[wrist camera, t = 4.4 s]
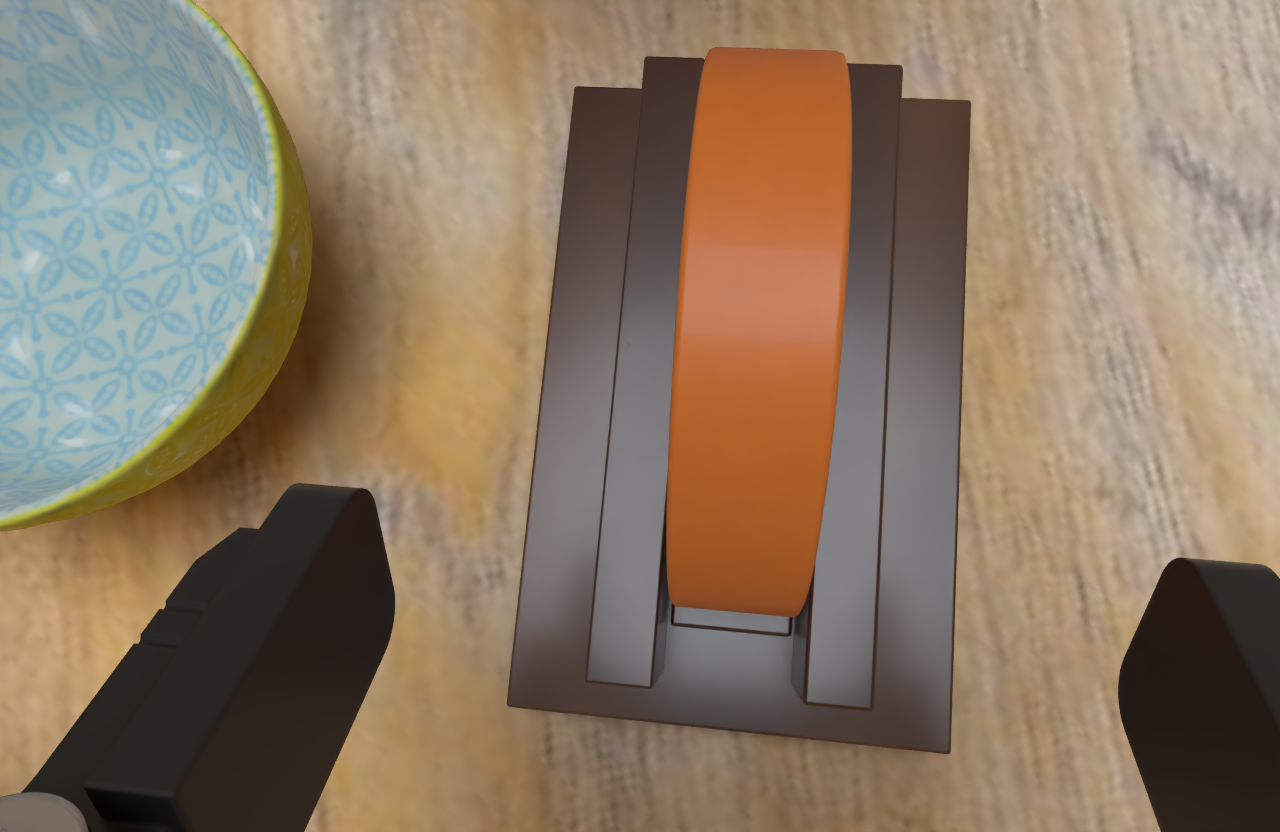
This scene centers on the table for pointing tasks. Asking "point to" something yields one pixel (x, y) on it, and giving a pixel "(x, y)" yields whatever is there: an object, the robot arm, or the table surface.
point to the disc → (758, 328)
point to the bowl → (135, 248)
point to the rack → (639, 440)
